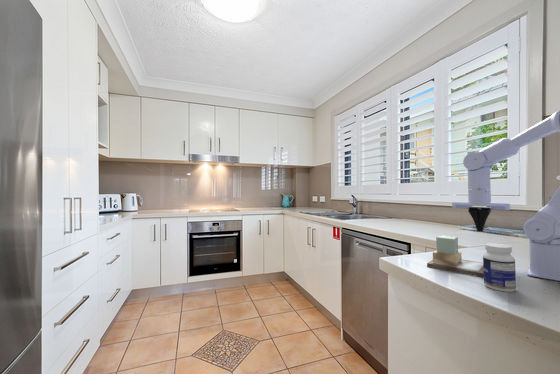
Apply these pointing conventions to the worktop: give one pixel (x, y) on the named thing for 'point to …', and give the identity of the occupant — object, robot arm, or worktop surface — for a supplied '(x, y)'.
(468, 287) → the worktop surface
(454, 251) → the sage block
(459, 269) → the board
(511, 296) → the worktop surface
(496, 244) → the pill bottle
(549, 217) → the robot arm
